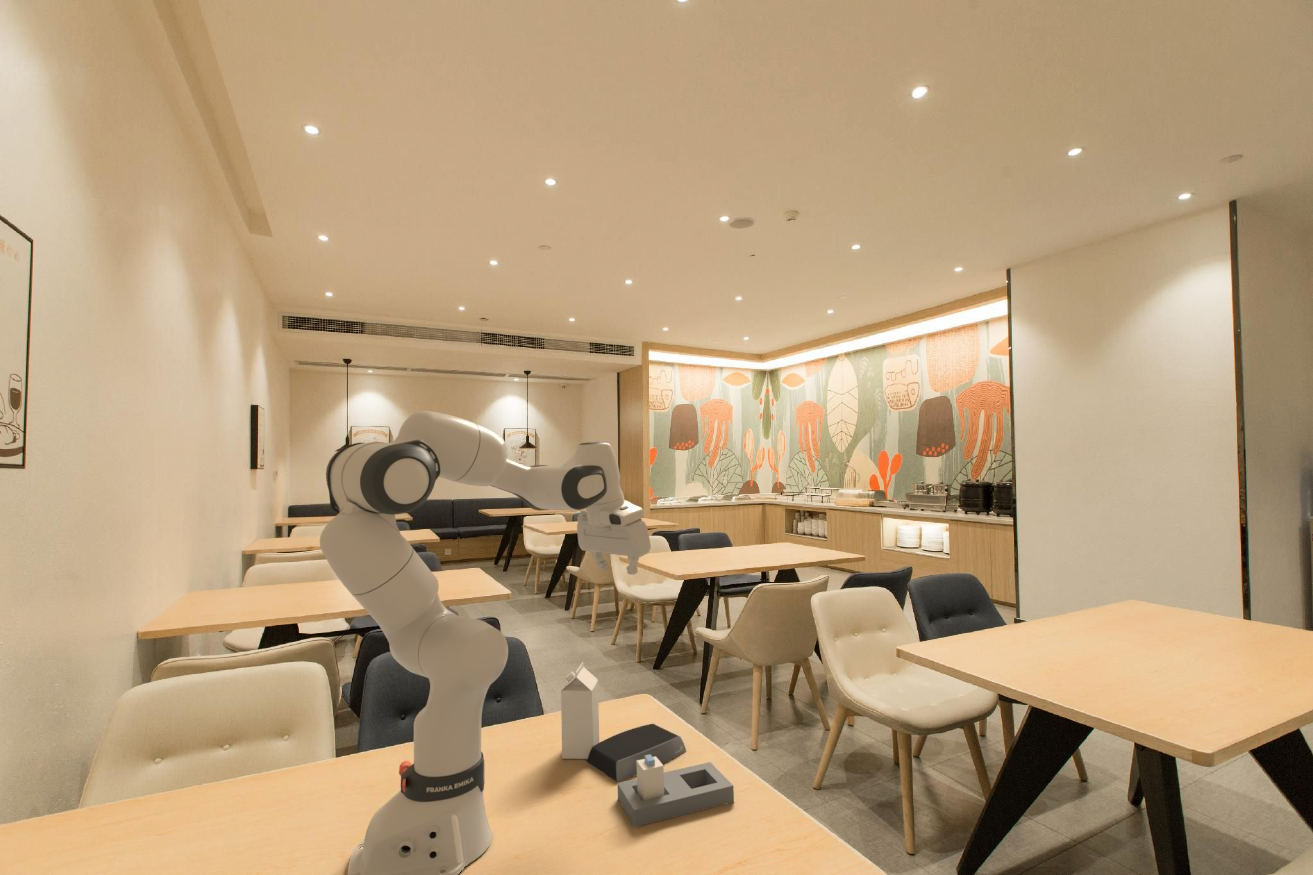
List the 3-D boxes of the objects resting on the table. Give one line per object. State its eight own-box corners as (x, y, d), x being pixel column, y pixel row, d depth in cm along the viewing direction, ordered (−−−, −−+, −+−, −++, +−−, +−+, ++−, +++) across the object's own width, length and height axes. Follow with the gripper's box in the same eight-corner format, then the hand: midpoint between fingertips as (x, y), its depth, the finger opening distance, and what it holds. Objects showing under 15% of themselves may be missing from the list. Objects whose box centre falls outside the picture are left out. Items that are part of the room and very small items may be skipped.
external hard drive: (689, 754, 132) (688, 736, 132) (619, 785, 119) (618, 765, 120) (652, 735, 142) (652, 718, 142) (584, 762, 129) (584, 743, 130)
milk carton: (599, 745, 136) (597, 662, 137) (593, 760, 129) (591, 672, 130) (569, 744, 137) (568, 662, 138) (561, 759, 130) (560, 672, 131)
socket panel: (634, 827, 104) (634, 810, 104) (617, 798, 113) (617, 783, 114) (733, 801, 111) (733, 785, 112) (710, 776, 121) (710, 761, 121)
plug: (644, 814, 108) (643, 764, 109) (637, 803, 112) (636, 755, 112) (664, 809, 109) (663, 760, 110) (657, 798, 113) (655, 750, 114)
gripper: (566, 514, 135) (577, 571, 136) (628, 518, 121) (640, 581, 122) (586, 506, 139) (597, 561, 141) (649, 509, 125) (660, 570, 127)
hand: (618, 571), depth 131 cm, fingers open, 8 cm apart
